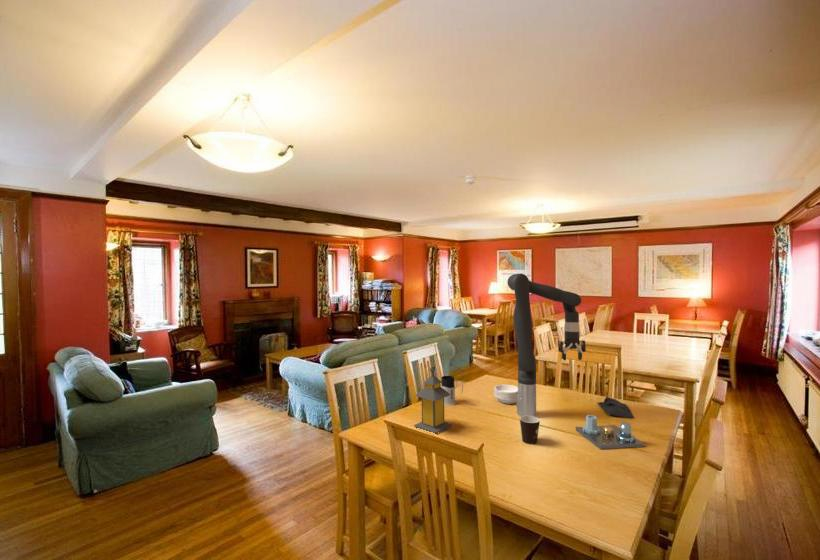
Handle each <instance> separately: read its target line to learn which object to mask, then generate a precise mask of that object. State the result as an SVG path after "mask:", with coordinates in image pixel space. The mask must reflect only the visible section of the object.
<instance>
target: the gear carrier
mask: <svg viewBox="0 0 820 560" xmlns="http://www.w3.org/2000/svg"><path fill="white" fill-rule="evenodd" d="M582 427H583V426H577V427H575V431H576V432H578V434H580V435H581V436H583V437H584V438H585V439H586V440H587V441H589V442H590V443H591V444H593V446H595V447H596V448H598V449H599V450H613V449H630V448H629V447H633V448H644V447H645V443H644V442H643V441H641V440H640V439H638V438H637V437H635V435H634V434H633V435H632V424H631V423H628V422H625V421H624V422H623V421H622V422H620V423H619V426H618V425H616V424H613V425H611V424H607V425H597V428H600V430H601V433H599V434H588V433H586V432H584V431H583V429H582ZM643 446H644V447H643Z"/></svg>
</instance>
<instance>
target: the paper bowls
mask: <svg viewBox="0 0 820 560" xmlns="http://www.w3.org/2000/svg"><path fill="white" fill-rule="evenodd" d="M493 395H494V397H495V398H497V400H498V402H500V403H502V404H505V403H506V404H505V405H510V404H511V405H513V404H515V403H517V395H518V385H512V384H496V385H495V386H494V388H493Z"/></svg>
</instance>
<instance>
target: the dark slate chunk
mask: <svg viewBox="0 0 820 560" xmlns="http://www.w3.org/2000/svg"><path fill="white" fill-rule="evenodd" d="M597 405H599V407H600V408H601V409H602V410H603V411H604V412H605V411H606V414H607V415H609V416H612V417H613V416H614V417H619V416H620V418H625V417H626V418H627V419H635V418H634V417H635V416H634V414H633V413H632V411H631V409H630V408H629V407H628V405H627V403H626V404H625V403H623V402H621V401H619V400H618V399H615V398H612V397H610V396H605V398H604V400H603V402H600V401H599V402H597Z"/></svg>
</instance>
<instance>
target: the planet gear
mask: <svg viewBox="0 0 820 560" xmlns="http://www.w3.org/2000/svg"><path fill="white" fill-rule="evenodd" d="M597 426H598V417H597V416H596V415H593V414H588V415H586V416H585V425H582V426H581V427H582V429H583V431H584V432H586V433H588V434H599V433H601V430H600V428H597Z"/></svg>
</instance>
